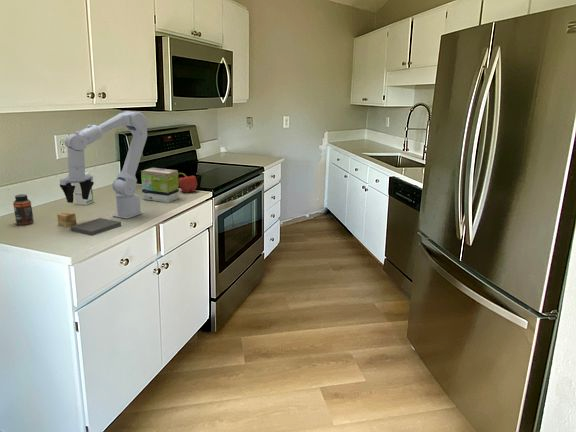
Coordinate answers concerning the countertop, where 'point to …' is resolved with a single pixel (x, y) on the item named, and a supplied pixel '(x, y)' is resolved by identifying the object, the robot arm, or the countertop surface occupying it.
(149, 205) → the countertop surface
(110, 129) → the robot arm
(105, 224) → the charcoal mat
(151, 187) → the tea box
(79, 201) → the syrup box
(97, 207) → the countertop surface
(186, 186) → the vegetable
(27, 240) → the countertop surface
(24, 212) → the supplement bottle
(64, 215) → the oak cube
